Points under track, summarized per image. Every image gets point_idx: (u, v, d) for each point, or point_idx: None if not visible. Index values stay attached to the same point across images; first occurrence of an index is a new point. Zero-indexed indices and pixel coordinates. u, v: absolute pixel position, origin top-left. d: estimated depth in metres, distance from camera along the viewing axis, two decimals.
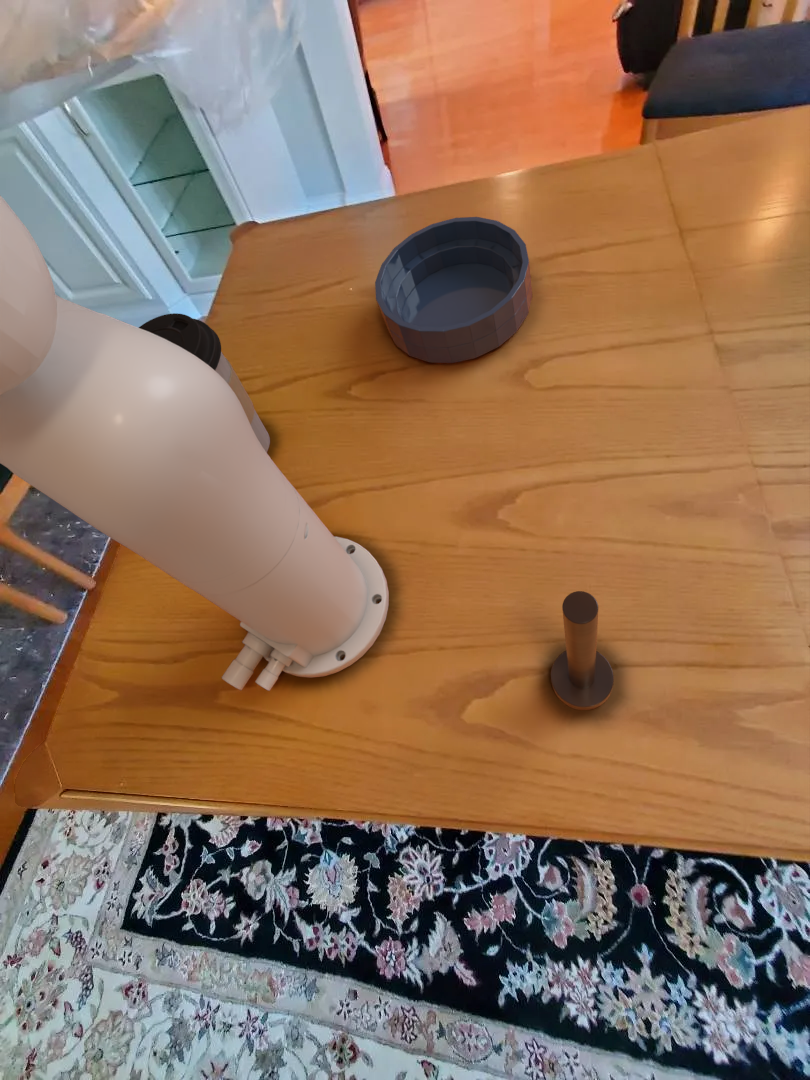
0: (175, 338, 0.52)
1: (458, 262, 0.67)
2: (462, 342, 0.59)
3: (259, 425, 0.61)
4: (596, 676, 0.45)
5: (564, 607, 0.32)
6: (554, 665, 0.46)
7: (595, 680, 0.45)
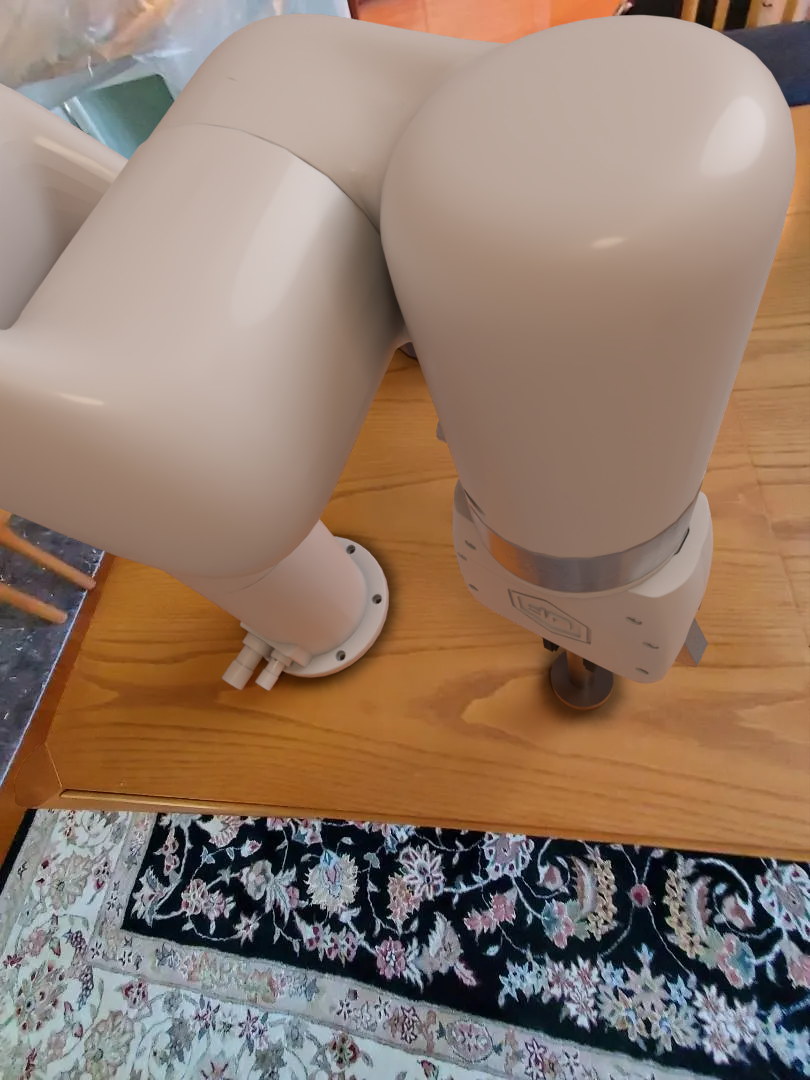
0: None
1: None
2: None
3: None
4: (596, 676, 0.45)
5: None
6: (554, 665, 0.46)
7: (595, 680, 0.45)
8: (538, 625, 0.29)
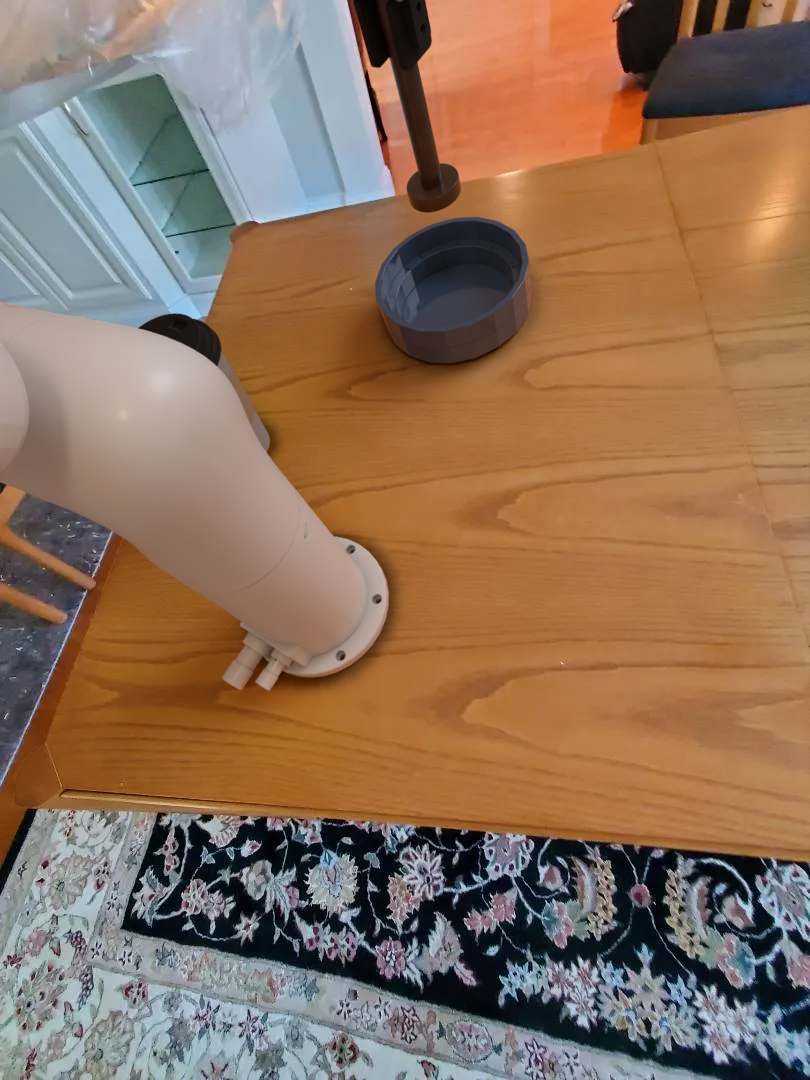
0: (175, 338, 0.52)
1: (458, 262, 0.67)
2: (462, 342, 0.59)
3: (259, 425, 0.61)
4: (444, 178, 0.51)
5: None
6: (410, 179, 0.52)
7: (443, 181, 0.51)
8: None
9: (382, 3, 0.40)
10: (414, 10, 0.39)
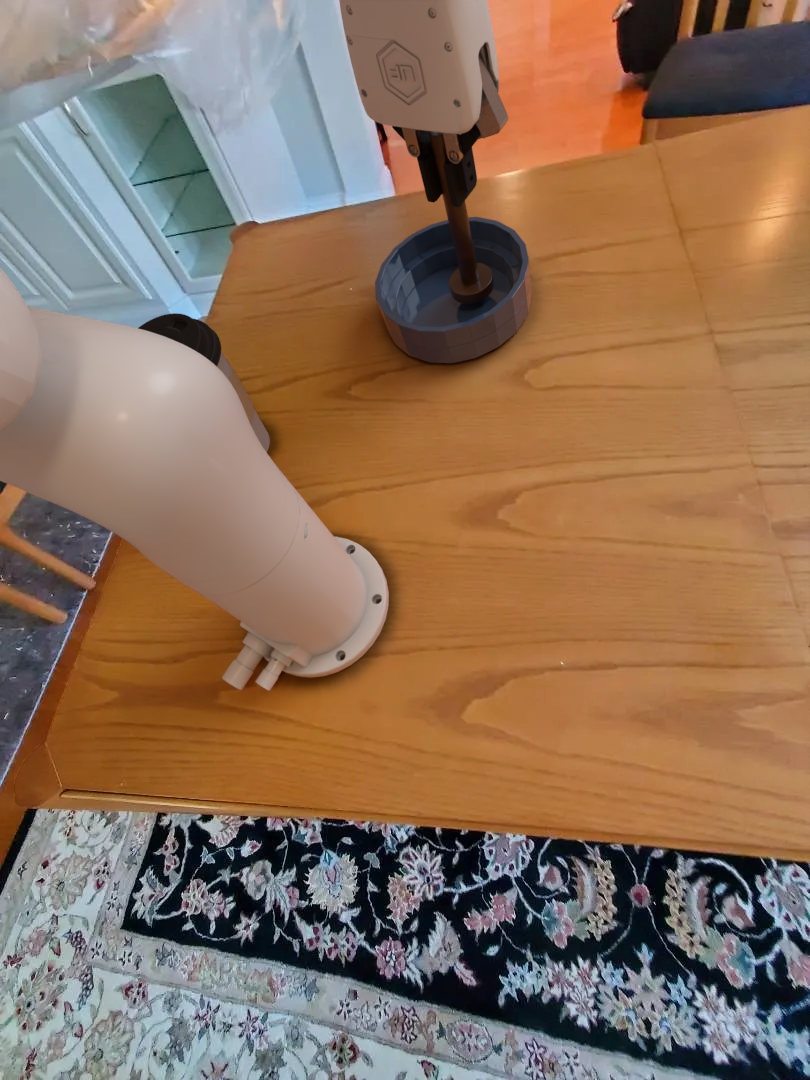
0: (175, 338, 0.52)
1: None
2: (462, 342, 0.59)
3: (259, 425, 0.61)
4: (480, 277, 0.62)
5: (429, 131, 0.50)
6: (451, 275, 0.63)
7: (479, 279, 0.62)
8: (401, 103, 0.46)
9: (440, 160, 0.51)
10: (465, 167, 0.51)
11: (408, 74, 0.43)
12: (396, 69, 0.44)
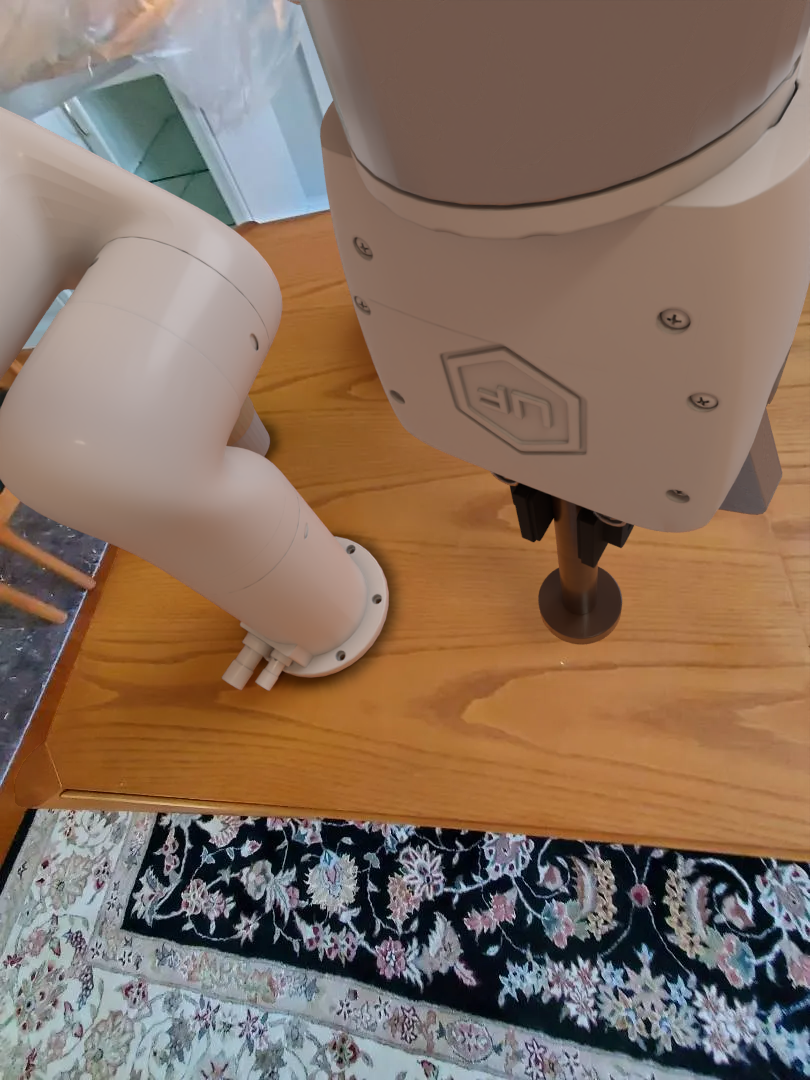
0: None
1: None
2: None
3: (259, 425, 0.61)
4: (599, 598, 0.34)
5: None
6: (543, 586, 0.35)
7: (597, 603, 0.33)
8: (500, 445, 0.17)
9: None
10: None
11: (534, 411, 0.15)
12: (498, 394, 0.15)
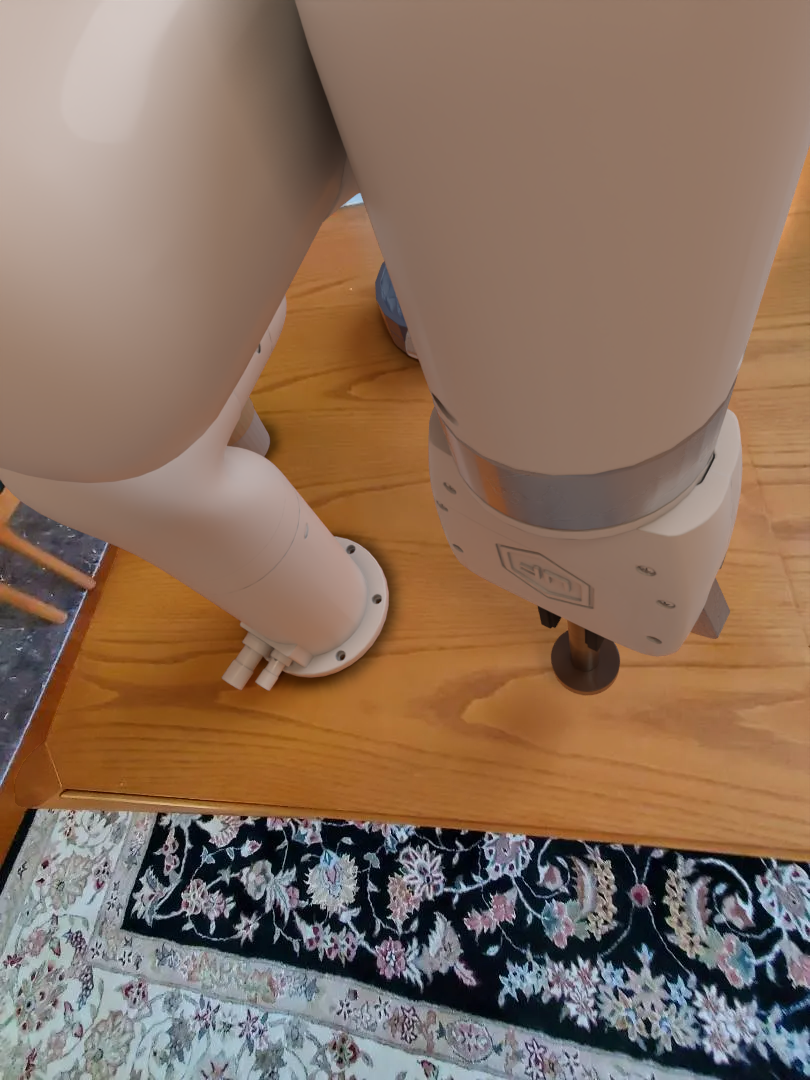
0: None
1: None
2: None
3: (259, 425, 0.61)
4: (601, 658, 0.41)
5: None
6: (554, 646, 0.42)
7: (599, 662, 0.41)
8: (532, 590, 0.25)
9: None
10: None
11: (558, 582, 0.22)
12: (534, 569, 0.23)
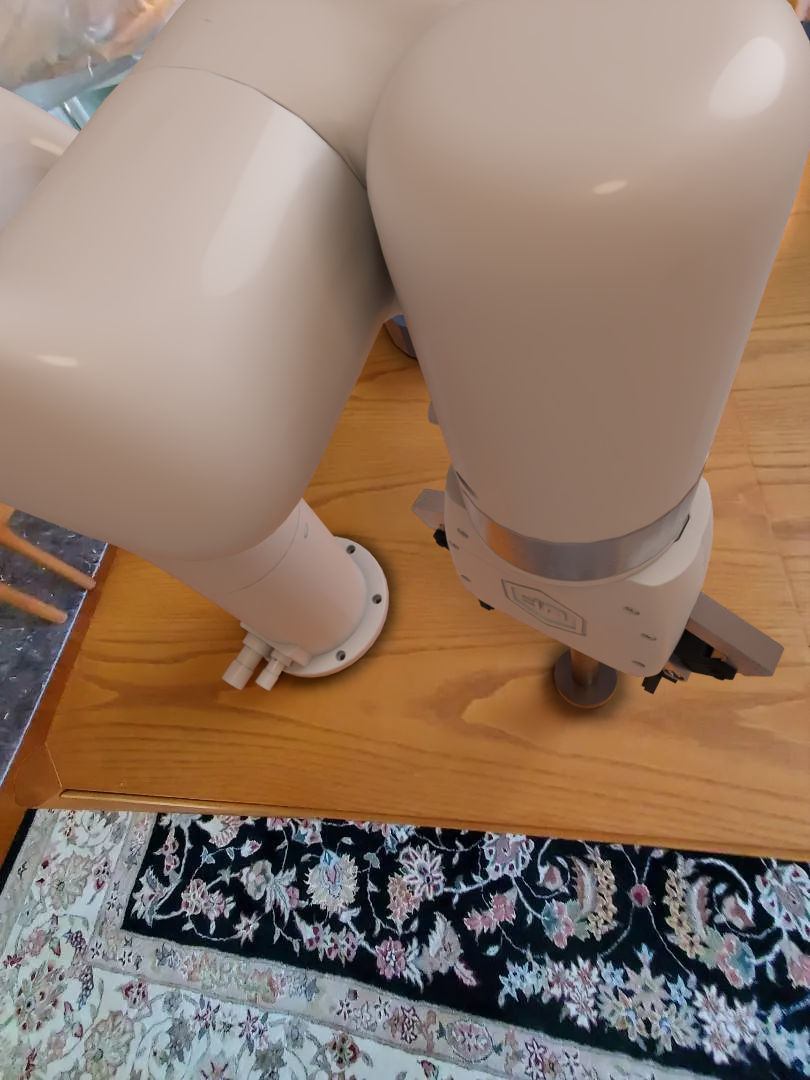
0: None
1: None
2: None
3: None
4: (600, 675, 0.45)
5: None
6: (557, 664, 0.46)
7: (599, 679, 0.45)
8: (532, 617, 0.28)
9: None
10: None
11: (556, 613, 0.26)
12: (534, 601, 0.26)
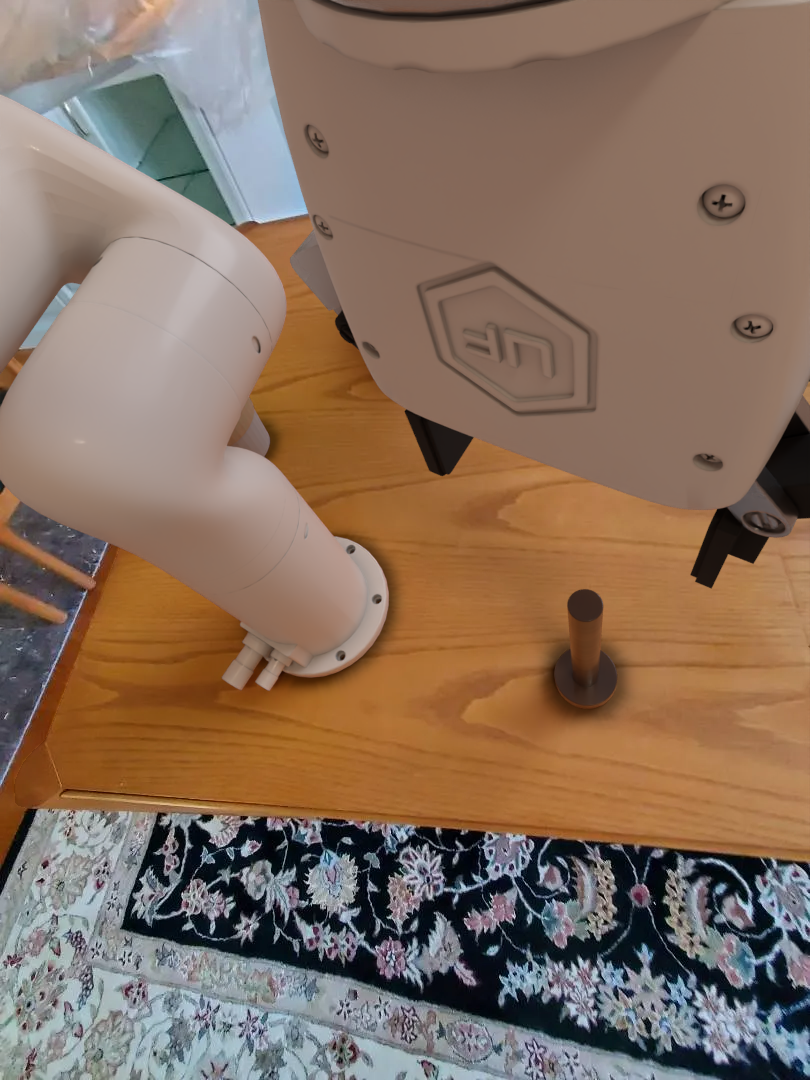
0: None
1: None
2: None
3: (259, 425, 0.61)
4: (600, 675, 0.45)
5: (569, 605, 0.32)
6: (557, 664, 0.46)
7: (599, 679, 0.45)
8: (491, 405, 0.14)
9: (580, 632, 0.34)
10: None
11: (532, 356, 0.12)
12: (488, 335, 0.12)
